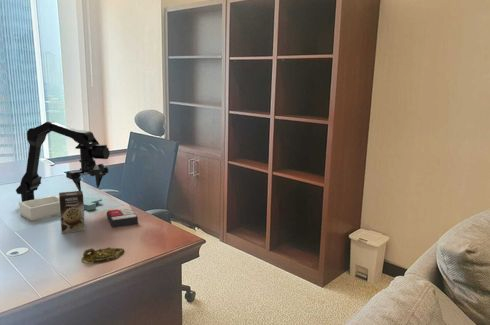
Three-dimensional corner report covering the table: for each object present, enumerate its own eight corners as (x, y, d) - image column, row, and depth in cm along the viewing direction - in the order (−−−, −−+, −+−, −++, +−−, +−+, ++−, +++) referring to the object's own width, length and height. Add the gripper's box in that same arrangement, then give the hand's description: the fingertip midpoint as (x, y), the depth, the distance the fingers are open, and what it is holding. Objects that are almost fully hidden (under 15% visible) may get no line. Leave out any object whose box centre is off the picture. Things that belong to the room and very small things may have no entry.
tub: (20, 214, 174) (19, 202, 173) (55, 206, 186) (54, 195, 185) (31, 221, 167) (30, 208, 165) (67, 212, 179) (66, 200, 178)
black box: (130, 206, 180) (137, 215, 167) (131, 215, 180) (138, 224, 167) (106, 210, 174) (112, 219, 161) (106, 218, 175) (112, 228, 162)
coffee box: (61, 234, 154) (58, 196, 151) (61, 228, 160) (58, 192, 157) (85, 230, 159) (83, 194, 155) (84, 225, 164) (82, 189, 161)
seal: (118, 250, 145) (78, 260, 135) (117, 238, 144) (76, 248, 134) (128, 256, 138) (86, 267, 128) (127, 243, 137) (85, 254, 127)
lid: (58, 207, 188) (58, 203, 187) (89, 200, 200) (89, 195, 200) (76, 213, 177) (75, 208, 176) (107, 205, 189) (107, 200, 189)
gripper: (76, 163, 167) (78, 197, 171) (113, 157, 181) (115, 188, 185) (64, 159, 174) (66, 192, 177) (101, 154, 188) (103, 184, 192)
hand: (89, 189), depth 183 cm, fingers open, 9 cm apart
